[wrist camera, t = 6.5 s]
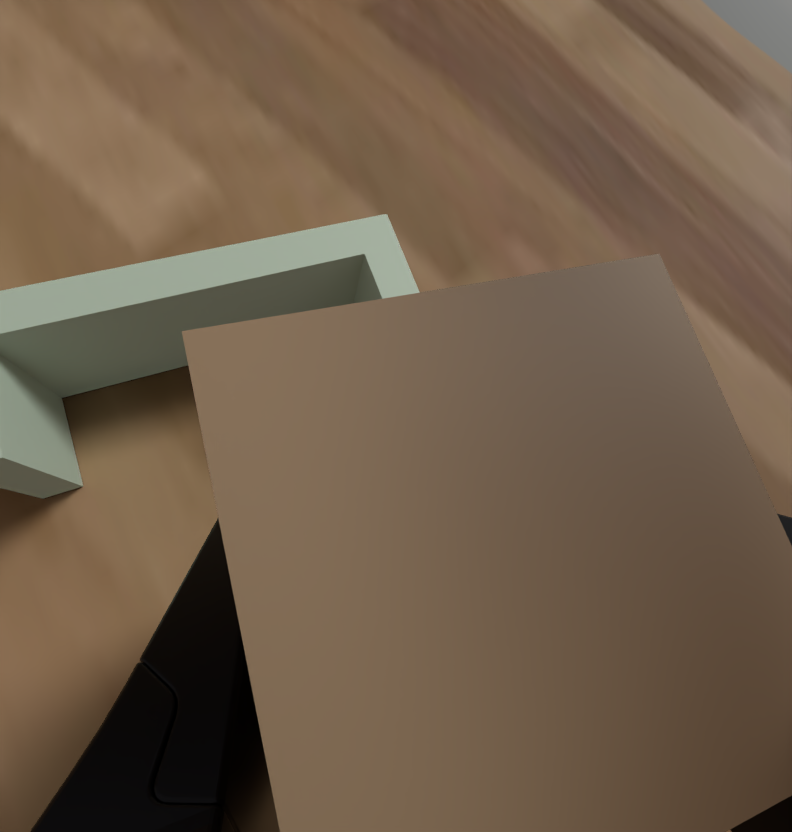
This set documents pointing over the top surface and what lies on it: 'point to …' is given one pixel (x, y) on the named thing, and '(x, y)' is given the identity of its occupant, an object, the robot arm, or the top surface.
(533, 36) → the top surface
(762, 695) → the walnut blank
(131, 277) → the nook
